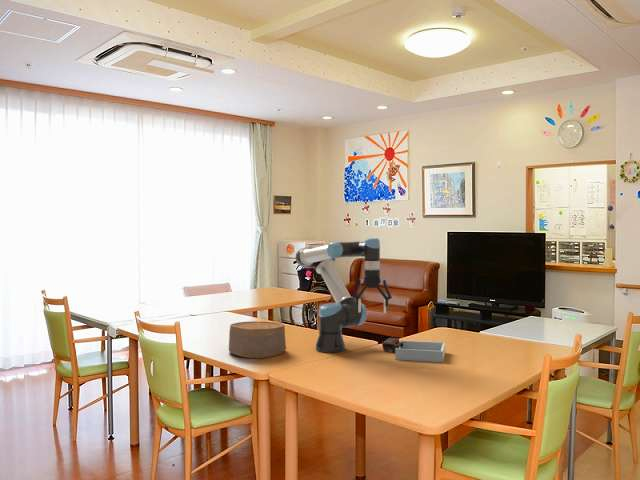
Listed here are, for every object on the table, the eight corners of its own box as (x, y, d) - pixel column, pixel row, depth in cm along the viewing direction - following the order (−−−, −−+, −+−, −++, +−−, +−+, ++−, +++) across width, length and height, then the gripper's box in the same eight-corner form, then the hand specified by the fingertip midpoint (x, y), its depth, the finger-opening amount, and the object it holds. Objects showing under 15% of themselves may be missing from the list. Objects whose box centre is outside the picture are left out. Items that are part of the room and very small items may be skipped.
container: (294, 350, 279) (293, 321, 279) (266, 362, 254) (266, 330, 254) (248, 345, 291) (247, 317, 290) (217, 356, 266) (217, 326, 265)
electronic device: (397, 346, 268) (405, 338, 273) (381, 343, 275) (388, 335, 280) (399, 353, 270) (406, 345, 275) (382, 350, 276) (390, 342, 281)
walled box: (395, 359, 257) (395, 348, 257) (400, 350, 277) (400, 340, 277) (442, 362, 251) (442, 351, 251) (445, 352, 271) (445, 342, 271)
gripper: (346, 269, 269) (346, 312, 270) (395, 270, 263) (395, 314, 264) (349, 268, 277) (349, 310, 277) (397, 269, 270) (397, 312, 271)
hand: (372, 312), depth 270 cm, fingers open, 12 cm apart
